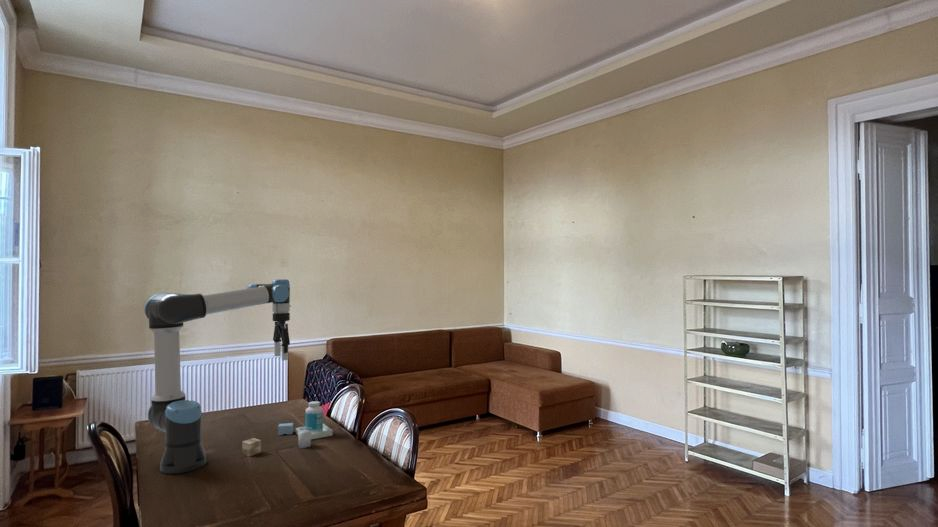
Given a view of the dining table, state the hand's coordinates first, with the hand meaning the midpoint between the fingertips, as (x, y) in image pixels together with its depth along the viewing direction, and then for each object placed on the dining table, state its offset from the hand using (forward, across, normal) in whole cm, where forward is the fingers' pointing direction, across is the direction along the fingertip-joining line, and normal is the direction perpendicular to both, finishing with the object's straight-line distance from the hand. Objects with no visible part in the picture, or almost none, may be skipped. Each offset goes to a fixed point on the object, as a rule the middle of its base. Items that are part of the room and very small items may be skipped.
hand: (281, 358), depth 236 cm
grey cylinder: (+33, -30, -2) cm, 44 cm away
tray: (+33, -17, -10) cm, 38 cm away
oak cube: (+33, -26, +18) cm, 46 cm away
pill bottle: (+32, -17, -10) cm, 38 cm away
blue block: (+33, -8, 0) cm, 34 cm away
